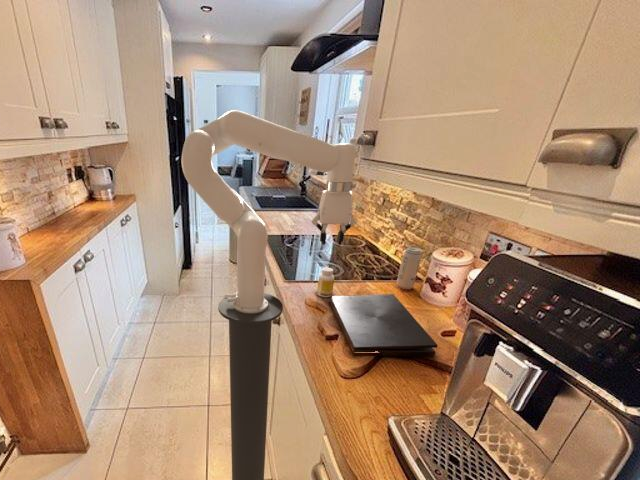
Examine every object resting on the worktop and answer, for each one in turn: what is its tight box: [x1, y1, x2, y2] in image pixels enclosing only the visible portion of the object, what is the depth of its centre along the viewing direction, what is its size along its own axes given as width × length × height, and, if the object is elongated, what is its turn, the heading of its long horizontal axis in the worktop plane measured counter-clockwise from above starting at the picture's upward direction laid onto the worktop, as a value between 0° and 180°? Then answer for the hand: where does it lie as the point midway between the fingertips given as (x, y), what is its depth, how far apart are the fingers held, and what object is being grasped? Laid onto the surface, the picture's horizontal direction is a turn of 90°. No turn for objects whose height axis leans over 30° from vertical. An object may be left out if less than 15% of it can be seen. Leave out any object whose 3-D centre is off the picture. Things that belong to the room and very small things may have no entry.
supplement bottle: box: [316, 267, 335, 298], centre depth 117 cm, size 5×5×10 cm
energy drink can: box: [396, 246, 423, 290], centre depth 121 cm, size 6×6×15 cm
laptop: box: [329, 298, 437, 358], centre depth 98 cm, size 21×30×2 cm
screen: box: [330, 293, 439, 350], centre depth 98 cm, size 21×30×1 cm
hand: (331, 243), depth 110 cm, fingers open, 4 cm apart
